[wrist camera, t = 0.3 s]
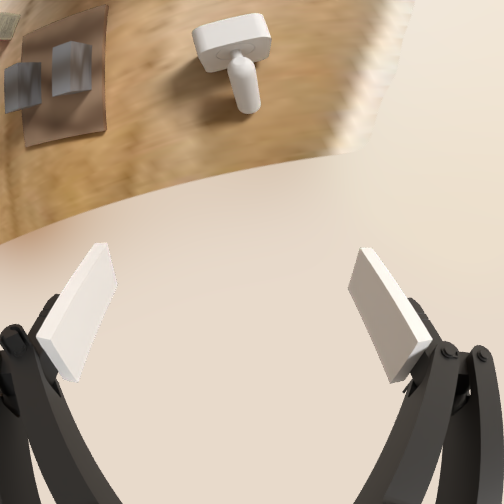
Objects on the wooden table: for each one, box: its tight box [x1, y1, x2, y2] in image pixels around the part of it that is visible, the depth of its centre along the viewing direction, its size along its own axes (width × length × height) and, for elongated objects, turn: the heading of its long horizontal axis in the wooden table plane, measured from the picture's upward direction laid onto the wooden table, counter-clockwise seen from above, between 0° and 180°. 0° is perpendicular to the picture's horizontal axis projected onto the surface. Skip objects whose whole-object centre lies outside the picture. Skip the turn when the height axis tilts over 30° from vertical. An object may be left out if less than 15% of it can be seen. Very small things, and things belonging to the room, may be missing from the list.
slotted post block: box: [4, 4, 108, 147], centre depth 25 cm, size 20×16×7 cm
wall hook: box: [192, 13, 272, 114], centre depth 28 cm, size 8×10×10 cm
